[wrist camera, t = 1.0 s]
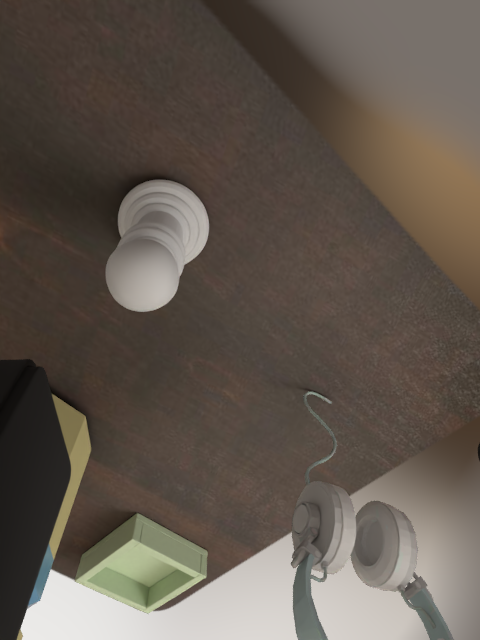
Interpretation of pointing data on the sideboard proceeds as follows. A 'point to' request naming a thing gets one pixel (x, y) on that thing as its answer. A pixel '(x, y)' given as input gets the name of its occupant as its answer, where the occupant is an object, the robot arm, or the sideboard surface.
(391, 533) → the headphones
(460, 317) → the sideboard surface
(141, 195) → the chess piece
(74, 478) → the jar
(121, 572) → the socket pad
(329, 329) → the sideboard surface
